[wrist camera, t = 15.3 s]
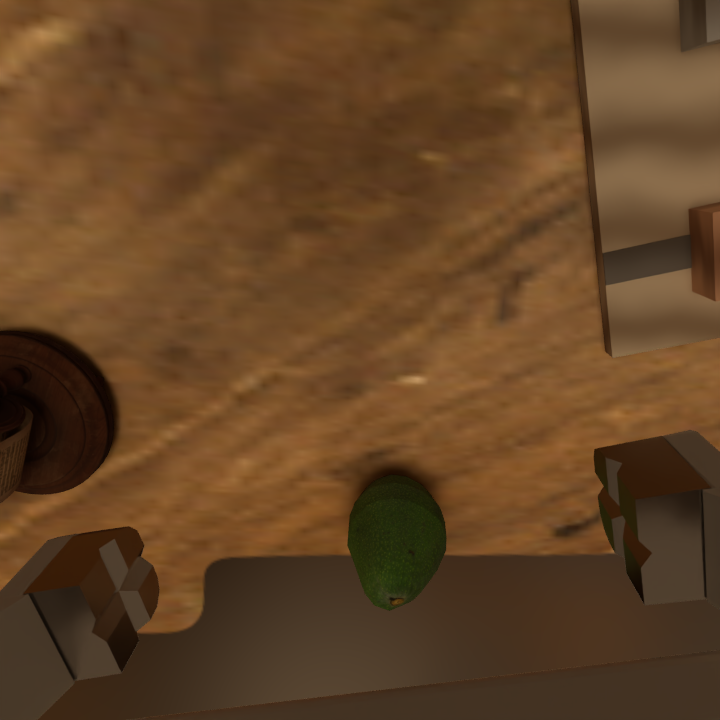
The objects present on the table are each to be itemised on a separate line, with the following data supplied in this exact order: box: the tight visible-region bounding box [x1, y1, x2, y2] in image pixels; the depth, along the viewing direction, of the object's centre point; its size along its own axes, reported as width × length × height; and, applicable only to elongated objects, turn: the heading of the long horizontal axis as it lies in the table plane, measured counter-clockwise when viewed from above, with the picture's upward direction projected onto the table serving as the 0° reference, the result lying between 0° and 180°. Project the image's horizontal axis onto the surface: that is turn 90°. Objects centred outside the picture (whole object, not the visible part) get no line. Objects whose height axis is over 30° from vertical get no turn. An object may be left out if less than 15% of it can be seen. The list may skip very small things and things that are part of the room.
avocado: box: [348, 475, 446, 611], centre depth 44 cm, size 8×8×12 cm
